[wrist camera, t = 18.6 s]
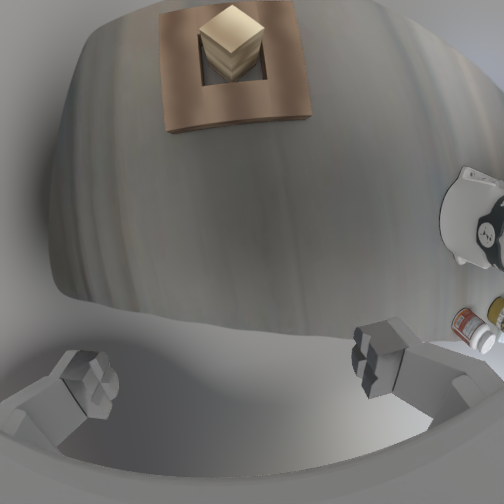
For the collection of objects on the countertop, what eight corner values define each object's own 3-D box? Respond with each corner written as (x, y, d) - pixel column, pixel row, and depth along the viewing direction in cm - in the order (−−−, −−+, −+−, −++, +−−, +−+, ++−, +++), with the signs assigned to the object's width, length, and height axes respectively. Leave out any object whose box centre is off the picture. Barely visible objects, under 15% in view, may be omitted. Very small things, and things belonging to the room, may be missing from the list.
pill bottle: (467, 324, 48) (494, 348, 38) (449, 335, 49) (476, 362, 38) (470, 303, 47) (500, 326, 36) (452, 313, 47) (482, 340, 36)
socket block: (287, 13, 28) (292, 1, 25) (304, 119, 34) (312, 115, 30) (165, 26, 28) (158, 14, 24) (172, 134, 34) (165, 131, 30)
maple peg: (232, 46, 30) (232, 4, 19) (255, 65, 31) (264, 27, 20) (209, 66, 31) (198, 29, 20) (232, 85, 32) (231, 53, 21)
